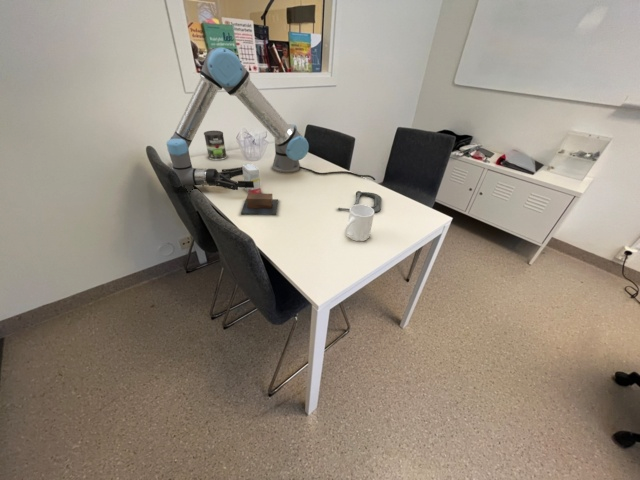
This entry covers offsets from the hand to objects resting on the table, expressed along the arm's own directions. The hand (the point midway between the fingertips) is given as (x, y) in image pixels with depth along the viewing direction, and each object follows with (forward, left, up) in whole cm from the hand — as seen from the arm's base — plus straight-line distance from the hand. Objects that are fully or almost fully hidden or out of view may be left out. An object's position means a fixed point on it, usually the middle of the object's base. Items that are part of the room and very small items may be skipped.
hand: (255, 178), depth 119 cm
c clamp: (-47, +15, -7) cm, 50 cm away
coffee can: (+25, -47, -7) cm, 54 cm away
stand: (-2, +16, -7) cm, 17 cm away
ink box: (+2, 0, -7) cm, 7 cm away
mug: (-37, +40, -7) cm, 55 cm away
